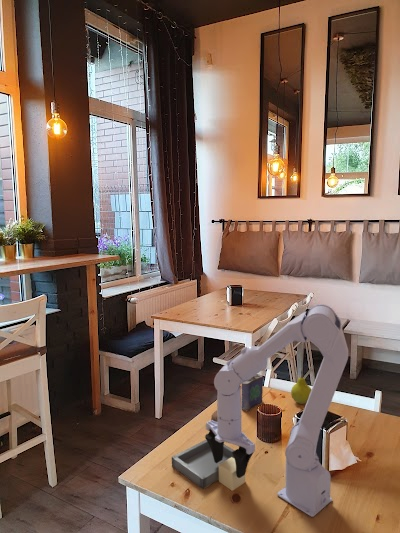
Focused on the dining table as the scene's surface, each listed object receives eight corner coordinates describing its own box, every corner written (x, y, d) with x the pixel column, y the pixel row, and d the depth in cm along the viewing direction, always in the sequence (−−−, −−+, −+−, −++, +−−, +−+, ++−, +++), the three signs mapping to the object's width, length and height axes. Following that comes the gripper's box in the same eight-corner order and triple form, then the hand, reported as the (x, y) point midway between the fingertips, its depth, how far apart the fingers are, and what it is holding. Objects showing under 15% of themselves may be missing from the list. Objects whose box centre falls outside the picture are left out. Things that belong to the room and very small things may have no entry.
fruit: (293, 396, 142) (294, 364, 140) (313, 400, 139) (314, 366, 137) (289, 405, 136) (289, 371, 134) (309, 409, 133) (310, 374, 131)
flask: (246, 412, 131) (246, 378, 130) (238, 409, 133) (238, 375, 132) (264, 402, 138) (264, 370, 136) (257, 399, 140) (257, 367, 139)
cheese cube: (245, 482, 97) (245, 465, 96) (232, 491, 94) (232, 473, 93) (231, 473, 100) (231, 456, 100) (218, 481, 97) (218, 464, 97)
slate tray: (243, 464, 104) (243, 455, 103) (202, 489, 94) (202, 479, 94) (211, 445, 113) (211, 436, 112) (171, 466, 103) (171, 456, 103)
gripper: (196, 409, 98) (197, 461, 100) (240, 433, 87) (240, 490, 89) (217, 400, 103) (217, 450, 105) (261, 422, 92) (260, 477, 94)
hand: (229, 468), depth 97 cm, fingers open, 7 cm apart
